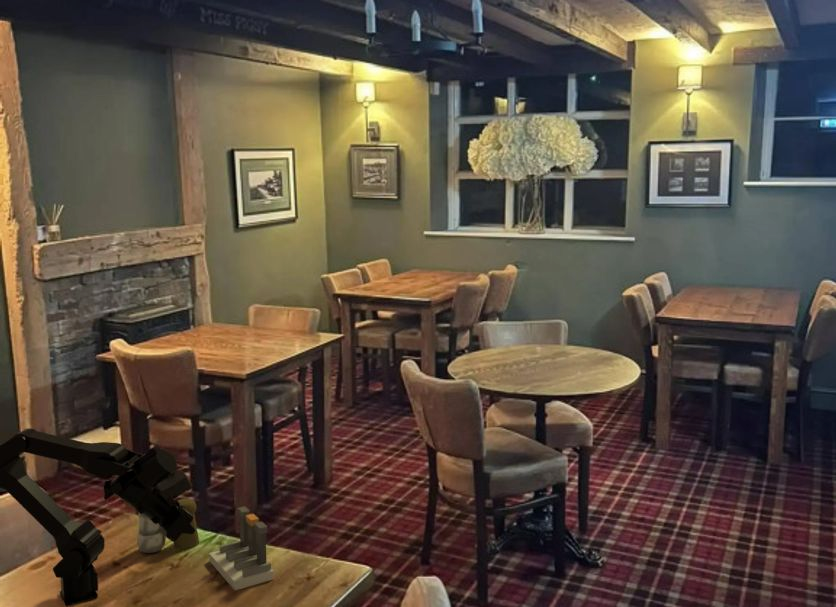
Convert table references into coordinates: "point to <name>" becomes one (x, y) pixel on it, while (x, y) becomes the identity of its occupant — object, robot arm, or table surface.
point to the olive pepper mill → (191, 539)
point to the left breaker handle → (243, 526)
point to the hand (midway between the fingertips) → (193, 531)
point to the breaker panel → (240, 566)
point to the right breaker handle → (261, 542)
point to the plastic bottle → (149, 535)
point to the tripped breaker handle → (252, 534)
